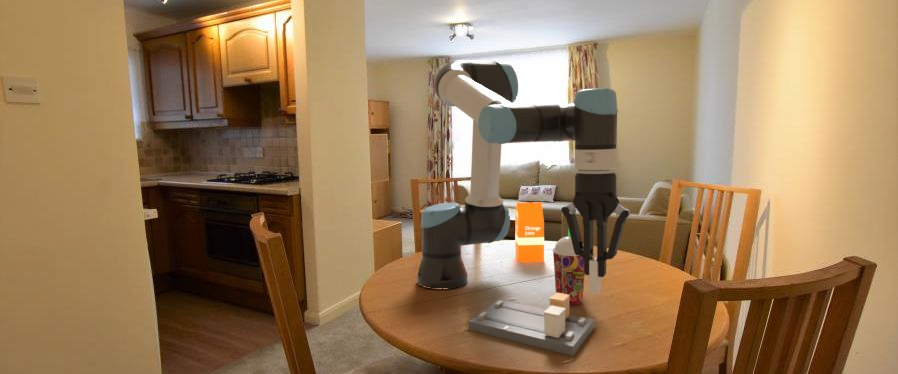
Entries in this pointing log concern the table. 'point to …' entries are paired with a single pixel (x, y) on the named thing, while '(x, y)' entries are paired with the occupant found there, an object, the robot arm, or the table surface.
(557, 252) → the smoothie
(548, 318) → the cream fader
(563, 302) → the orange fader
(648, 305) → the table surface
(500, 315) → the fader console
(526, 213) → the orange juice
